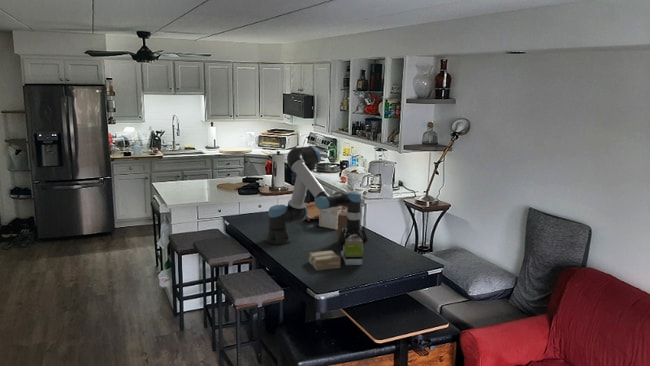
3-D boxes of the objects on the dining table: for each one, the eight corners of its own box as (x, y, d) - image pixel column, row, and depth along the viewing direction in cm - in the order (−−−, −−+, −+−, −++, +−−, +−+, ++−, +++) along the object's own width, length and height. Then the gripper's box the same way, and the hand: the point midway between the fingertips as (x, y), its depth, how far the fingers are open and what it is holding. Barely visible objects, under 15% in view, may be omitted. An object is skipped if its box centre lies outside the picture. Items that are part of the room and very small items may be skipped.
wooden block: (352, 246, 321) (353, 216, 317) (337, 245, 323) (338, 215, 319) (354, 241, 331) (355, 212, 327) (339, 240, 333) (340, 211, 329)
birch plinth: (308, 262, 292) (309, 252, 291) (331, 260, 297) (331, 250, 295) (316, 270, 279) (317, 260, 278) (340, 268, 284) (340, 258, 283)
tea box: (341, 256, 302) (342, 232, 299) (358, 256, 303) (359, 232, 300) (345, 265, 287) (346, 240, 285) (362, 265, 288) (363, 240, 286)
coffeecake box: (341, 227, 363) (342, 201, 359) (336, 229, 357) (337, 203, 353) (323, 224, 370) (324, 198, 367) (318, 226, 364) (319, 200, 361)
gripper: (337, 222, 282) (336, 259, 286) (374, 218, 292) (373, 254, 296) (332, 218, 289) (330, 254, 293) (368, 215, 299) (366, 250, 303)
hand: (352, 254), depth 295 cm, fingers closed on tea box, 12 cm apart
